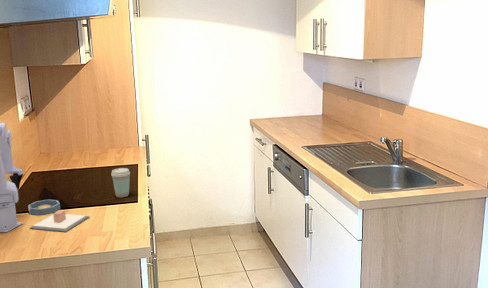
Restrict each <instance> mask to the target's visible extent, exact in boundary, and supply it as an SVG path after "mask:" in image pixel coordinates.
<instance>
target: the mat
mask: <svg viewBox="0 0 488 288" xmlns="http://www.w3.org/2000/svg"><path fill="white" fill-rule="evenodd" d="M85 216H86V217H85V218H84V219H82V220H80V221H79V222H77V223H76V224H74V225H72V226H71V227H69V228H68V229H66V230H60V229H49V228H39V227H33V225H31V226H30V227H29V230H38V231H47V232H58V233H68V232H69V231H70V230H72V229H74V228H76V226H78V225H80V224H82V223H83V222H85V221H86V220H88V219H90V215H89V216H88V215H85Z"/></svg>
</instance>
